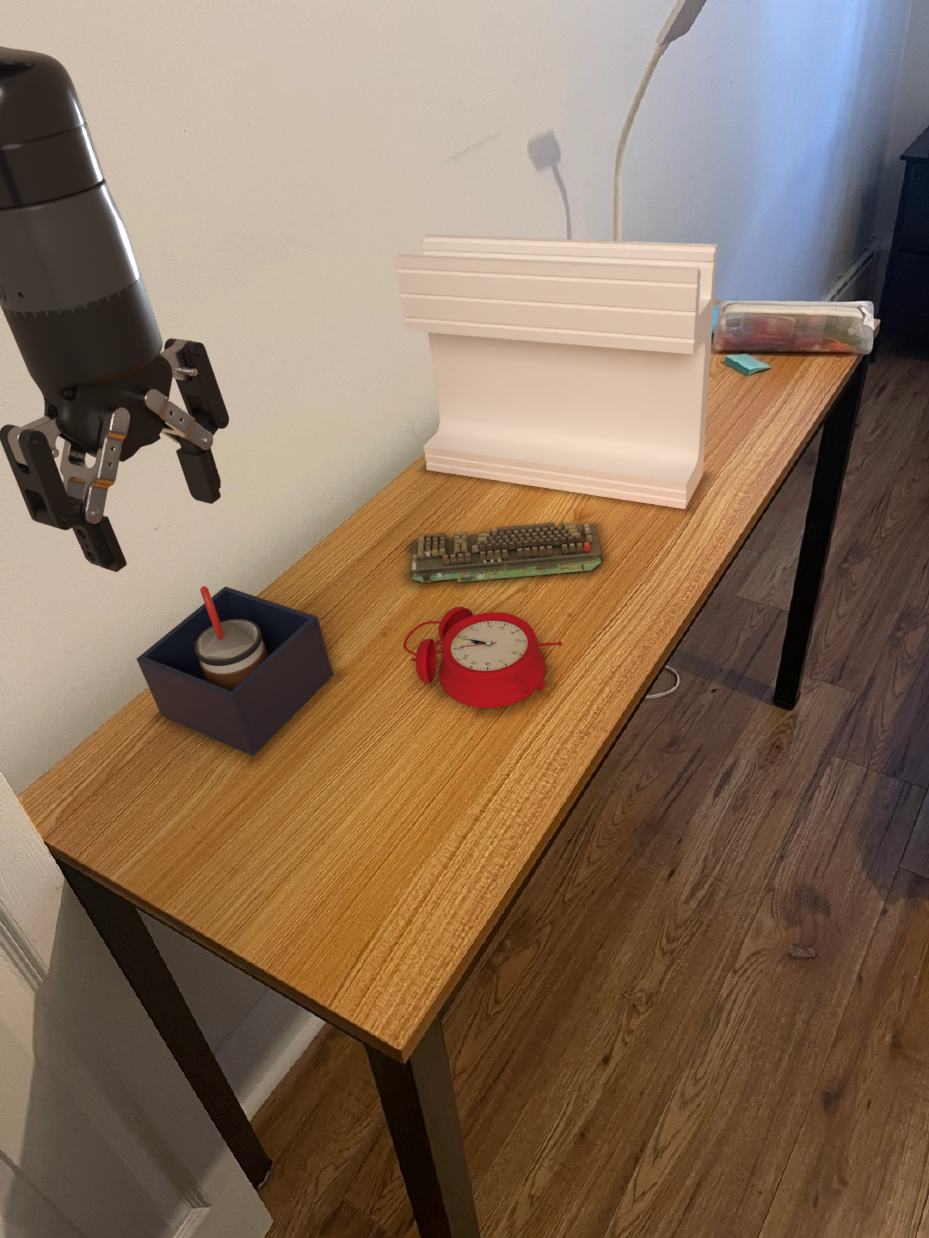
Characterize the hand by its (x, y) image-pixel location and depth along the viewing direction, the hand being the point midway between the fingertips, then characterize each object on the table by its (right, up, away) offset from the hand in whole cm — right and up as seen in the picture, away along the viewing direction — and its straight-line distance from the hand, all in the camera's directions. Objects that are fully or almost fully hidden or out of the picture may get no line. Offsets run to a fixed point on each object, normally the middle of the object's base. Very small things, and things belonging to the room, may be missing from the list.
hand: (162, 531), depth 59 cm
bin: (-2, -13, +31) cm, 34 cm away
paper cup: (-1, -14, +30) cm, 33 cm away
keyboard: (+24, +1, +46) cm, 52 cm away
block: (+32, +13, +59) cm, 68 cm away
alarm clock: (+21, -11, +31) cm, 39 cm away
